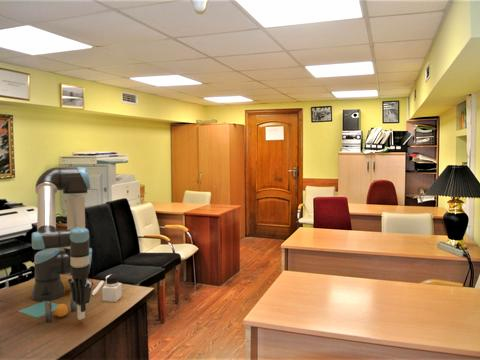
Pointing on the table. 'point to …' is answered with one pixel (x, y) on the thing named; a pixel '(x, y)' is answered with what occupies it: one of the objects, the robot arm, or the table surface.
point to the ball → (61, 310)
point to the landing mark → (37, 309)
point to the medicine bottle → (112, 289)
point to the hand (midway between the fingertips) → (81, 318)
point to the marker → (97, 288)
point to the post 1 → (48, 311)
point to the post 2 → (72, 304)
